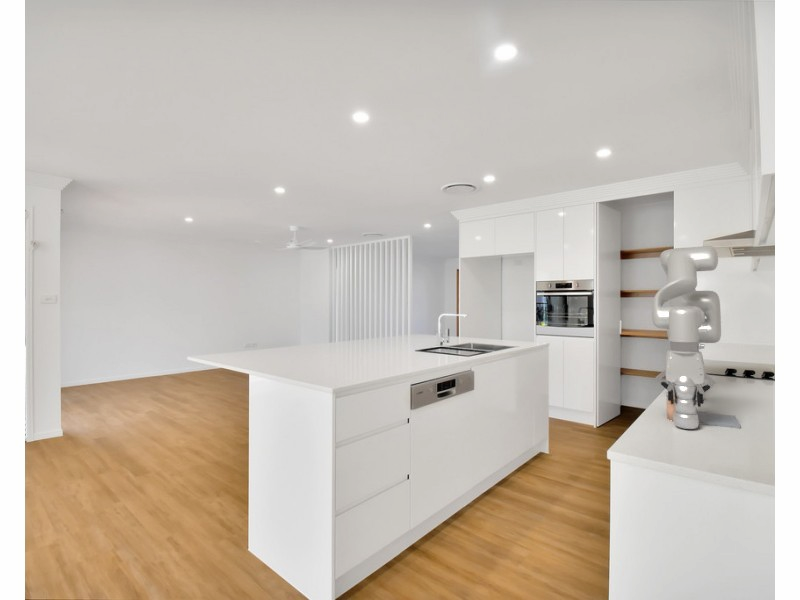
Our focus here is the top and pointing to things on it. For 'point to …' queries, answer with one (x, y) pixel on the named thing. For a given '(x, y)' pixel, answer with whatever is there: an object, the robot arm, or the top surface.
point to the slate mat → (718, 419)
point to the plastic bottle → (685, 403)
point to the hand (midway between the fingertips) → (685, 403)
